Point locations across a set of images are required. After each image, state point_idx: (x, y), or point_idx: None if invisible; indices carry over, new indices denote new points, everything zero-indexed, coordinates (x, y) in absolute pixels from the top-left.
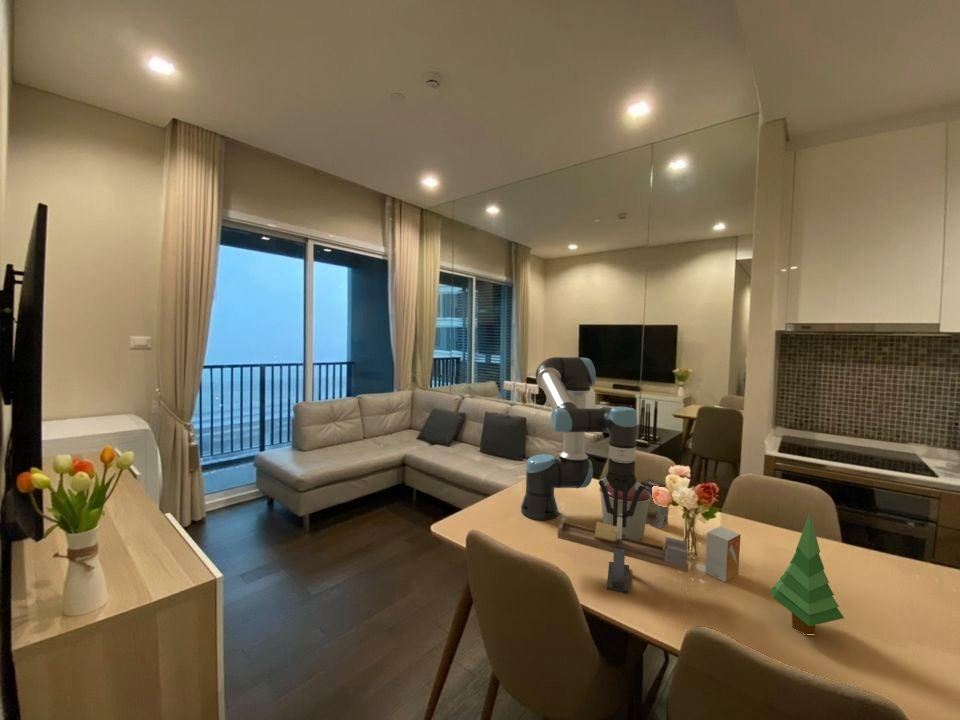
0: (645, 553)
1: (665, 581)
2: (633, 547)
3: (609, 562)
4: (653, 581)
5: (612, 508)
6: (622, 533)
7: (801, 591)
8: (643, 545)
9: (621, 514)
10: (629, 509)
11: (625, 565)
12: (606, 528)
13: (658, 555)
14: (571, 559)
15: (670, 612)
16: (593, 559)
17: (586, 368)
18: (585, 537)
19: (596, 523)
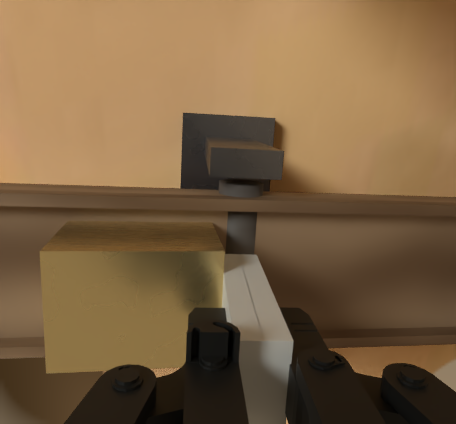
0: (378, 346)
1: (409, 170)
2: (318, 274)
3: (184, 122)
4: (361, 187)
5: (170, 418)
6: (264, 150)
7: None
8: (383, 216)
9: (281, 351)
10: (405, 417)
11: (258, 125)
12: (137, 336)
13: (445, 291)
14: (3, 126)
15: (382, 354)
16: (108, 89)
17: None
18: (3, 353)
19: (42, 290)
